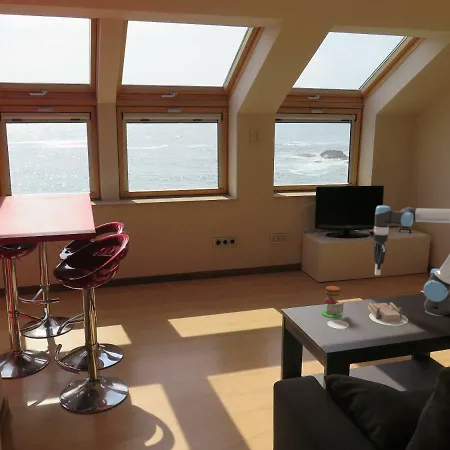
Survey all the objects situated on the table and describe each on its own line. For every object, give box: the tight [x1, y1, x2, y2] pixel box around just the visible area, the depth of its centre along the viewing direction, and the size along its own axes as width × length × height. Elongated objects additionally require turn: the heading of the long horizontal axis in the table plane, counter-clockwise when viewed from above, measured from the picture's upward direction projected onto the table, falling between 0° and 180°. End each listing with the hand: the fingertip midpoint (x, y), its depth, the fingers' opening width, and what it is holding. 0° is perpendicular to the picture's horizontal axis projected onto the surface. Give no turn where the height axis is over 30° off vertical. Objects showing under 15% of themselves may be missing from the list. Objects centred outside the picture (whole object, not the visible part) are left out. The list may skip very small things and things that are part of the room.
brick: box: [372, 302, 401, 323], centre depth 266 cm, size 17×8×5 cm, turn 11°
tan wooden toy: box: [367, 302, 403, 320], centre depth 268 cm, size 14×13×6 cm
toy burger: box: [321, 285, 345, 319], centre depth 267 cm, size 12×13×15 cm
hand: (377, 274), depth 277 cm, fingers closed
